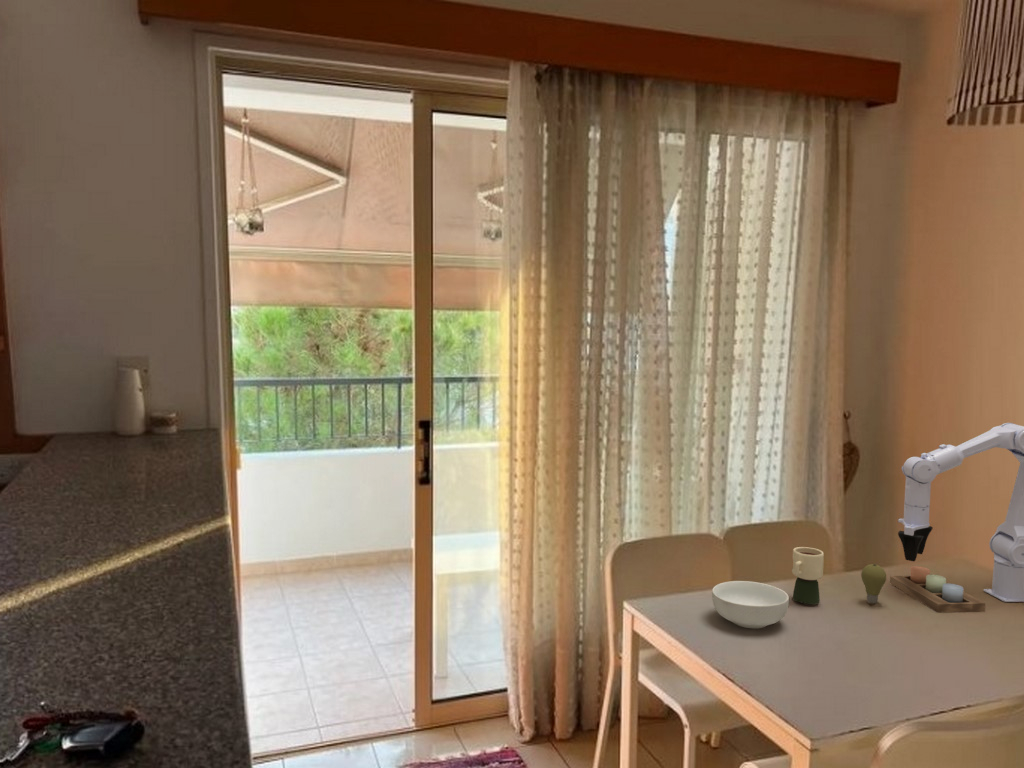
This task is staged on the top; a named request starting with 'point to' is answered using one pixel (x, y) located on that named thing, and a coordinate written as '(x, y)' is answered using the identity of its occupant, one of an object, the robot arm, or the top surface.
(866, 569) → the light bulb
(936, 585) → the sage button
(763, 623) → the cereal bowl
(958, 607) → the wooden compartment tray
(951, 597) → the grey rounded piece
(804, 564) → the character mug
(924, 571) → the orange rounded lump
